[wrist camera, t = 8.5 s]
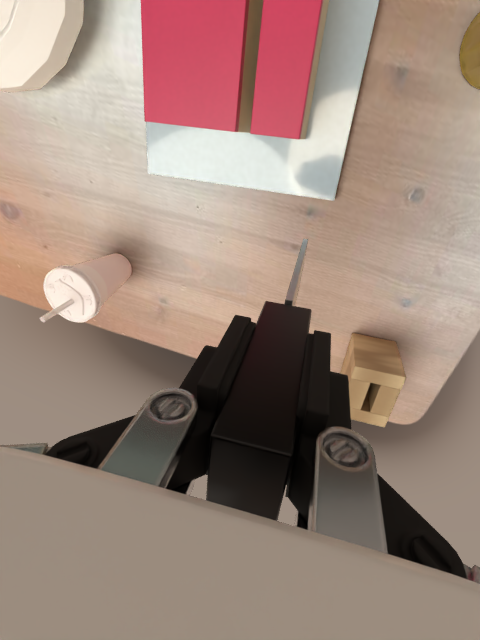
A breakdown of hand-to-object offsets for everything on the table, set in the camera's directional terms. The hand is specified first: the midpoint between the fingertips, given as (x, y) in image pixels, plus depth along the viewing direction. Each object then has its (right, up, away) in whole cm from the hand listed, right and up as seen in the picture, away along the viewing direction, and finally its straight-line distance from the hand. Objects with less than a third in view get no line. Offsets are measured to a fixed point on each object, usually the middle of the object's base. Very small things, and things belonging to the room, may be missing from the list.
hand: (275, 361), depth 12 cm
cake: (-3, +26, +19) cm, 32 cm away
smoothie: (-17, +8, +33) cm, 38 cm away
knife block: (+14, -4, +30) cm, 33 cm away
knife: (+3, +5, +9) cm, 11 cm away
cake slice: (+4, +24, +17) cm, 30 cm away
